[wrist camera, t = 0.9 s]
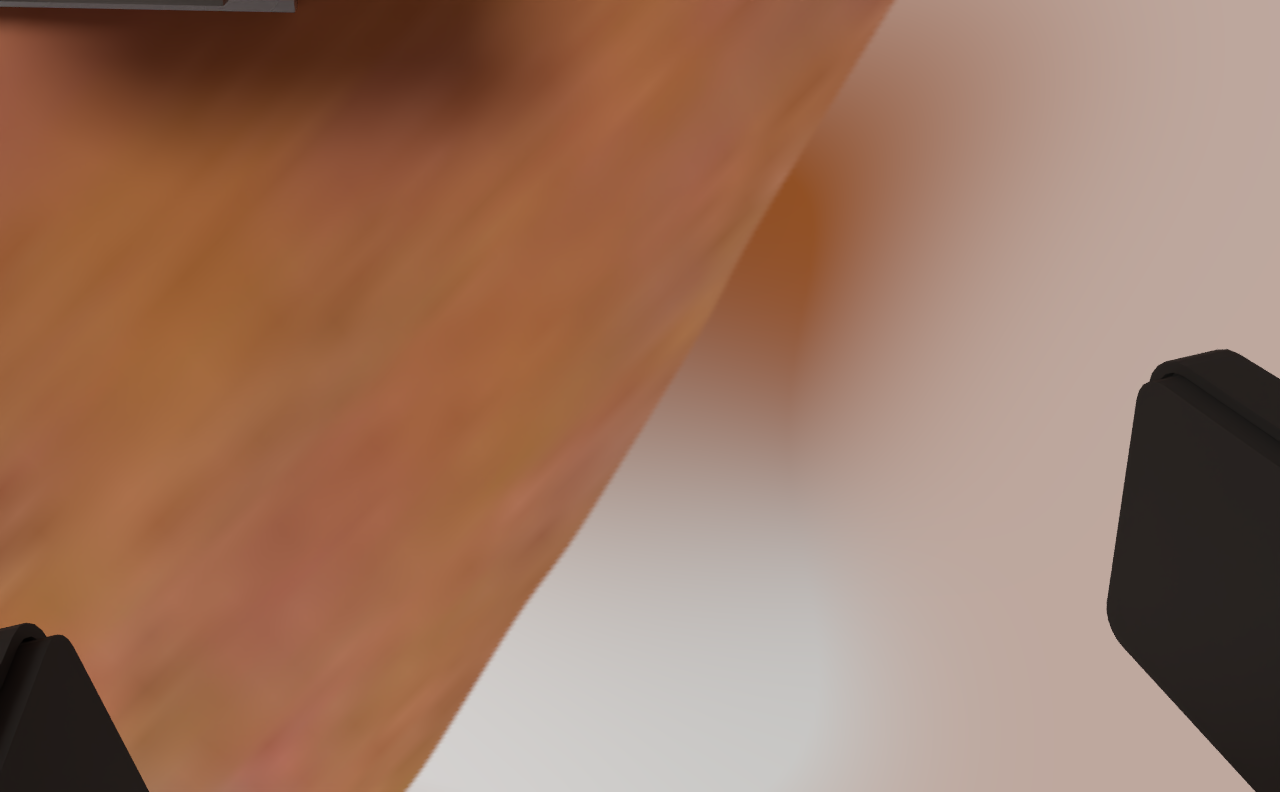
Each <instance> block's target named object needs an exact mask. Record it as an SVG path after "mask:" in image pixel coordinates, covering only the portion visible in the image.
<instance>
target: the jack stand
mask: <svg viewBox="0 0 1280 792" xmlns="http://www.w3.org/2000/svg"><path fill="white" fill-rule="evenodd" d="M0 7H48V8H98V9H148V10H198V11H248V12H295V11H296V9H297V0H0Z"/></svg>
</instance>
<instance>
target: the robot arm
mask: <svg viewBox="0 0 1280 792" xmlns="http://www.w3.org/2000/svg"><path fill="white" fill-rule="evenodd" d="M1107 615H1108V621H1109V623H1110V626H1111V629H1112V631H1113V633H1114V635H1115V637H1116V639H1117V640H1118V641H1119V642H1120V644H1121V645H1122V646H1123V647H1124V649H1125V650H1126V651H1127V652H1128V653H1129V654H1130V655H1131V656H1132V657H1133V658H1134V659H1135V661H1136V662H1137V663H1138V664H1139V665H1140V666H1141V667H1142V668H1143V669H1144V670H1145V672H1146V673H1147V674H1148V675H1149V676H1150V677H1151V678H1152V679H1153V680H1154V681H1155V682H1156V683H1157V685H1158V686H1159V687H1160V688H1161V689H1162V690H1163V691H1164V692H1165V693H1166V694H1167V696H1168V697H1169V698H1170V699H1171V700H1172V701H1173V702H1174V703H1175V704H1176V705H1177V706H1178V707H1179V709H1180V710H1181V711H1182V712H1183V713H1184V714H1185V715H1186V716H1187V717H1188V718H1189V719H1190V721H1192V723H1193V724H1194V725H1195V726H1196V727H1197V728H1198V729H1199V730H1200V732H1201V733H1202V734H1203V735H1204V736H1205V737H1206V738H1207V739H1208V740H1209V741H1210V742H1211V744H1212V745H1213V746H1214V747H1215V748H1216V749H1217V750H1218V751H1219V752H1220V753H1221V754H1222V755H1223V757H1224V758H1225V759H1226V760H1227V761H1228V762H1229V763H1230V764H1231V765H1232V766H1233V768H1234V769H1235V770H1236V771H1237V772H1238V773H1239V774H1240V775H1241V776H1242V777H1243V778H1244V780H1245V781H1246V782H1247V783H1248V784H1249V785H1250V786H1251V787H1252V788H1253V789H1254V790H1255V791H1256V792H1280V379H1279V378H1277V377H1276V376H1274V375H1272V374H1271V373H1269V372H1267V371H1266V370H1264V369H1263V368H1261V367H1259V366H1258V365H1256V364H1255V363H1253V362H1251V361H1250V360H1248V359H1246V358H1245V357H1243V356H1241V355H1240V354H1238V353H1235V352H1233V351H1230V350H1228V349H1226V350H1214V351H1210V352H1205V353H1201V354H1197V355H1192V356H1188V357H1183V358H1179V359H1175V360H1170V361H1166V362H1164V363H1162V364H1160V365H1159V366H1157V368H1156V369H1155V370H1154V372H1153V373H1152V375H1151V379H1150V382H1148V383H1146V384H1144V385H1143V386H1142V388H1141V389H1140V390H1139V393H1138V396H1137V400H1136V407H1135V414H1134V421H1133V428H1132V435H1131V441H1130V448H1129V455H1128V462H1127V468H1126V476H1125V482H1124V489H1123V496H1122V504H1121V510H1120V517H1119V523H1118V530H1117V537H1116V544H1115V550H1114V557H1113V564H1112V571H1111V578H1110V585H1109V592H1108V598H1107ZM0 792H149V791H148V789H147V787H146V785H145V783H144V781H143V779H142V777H141V775H140V773H139V771H138V770H137V768H136V766H135V764H134V762H133V760H132V758H131V756H130V754H129V752H128V750H127V748H126V747H125V745H124V743H123V741H122V739H121V737H120V735H119V733H118V731H117V729H116V727H115V725H114V724H113V722H112V720H111V718H110V716H109V714H108V712H107V710H106V708H105V706H104V704H103V702H102V700H101V699H100V697H99V695H98V693H97V691H96V689H95V687H94V685H93V683H92V681H91V679H90V677H89V676H88V674H87V672H86V670H85V668H84V666H83V664H82V662H81V660H80V658H79V656H78V654H77V653H76V651H75V649H74V647H73V645H72V644H71V642H70V641H69V640H68V639H67V638H66V637H64V636H63V635H54V636H49V637H46V635H45V634H44V632H43V631H42V630H41V629H40V628H38V627H37V626H36V625H35V624H30V623H23V624H19V625H14V626H10V627H6V628H1V629H0Z"/></svg>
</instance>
